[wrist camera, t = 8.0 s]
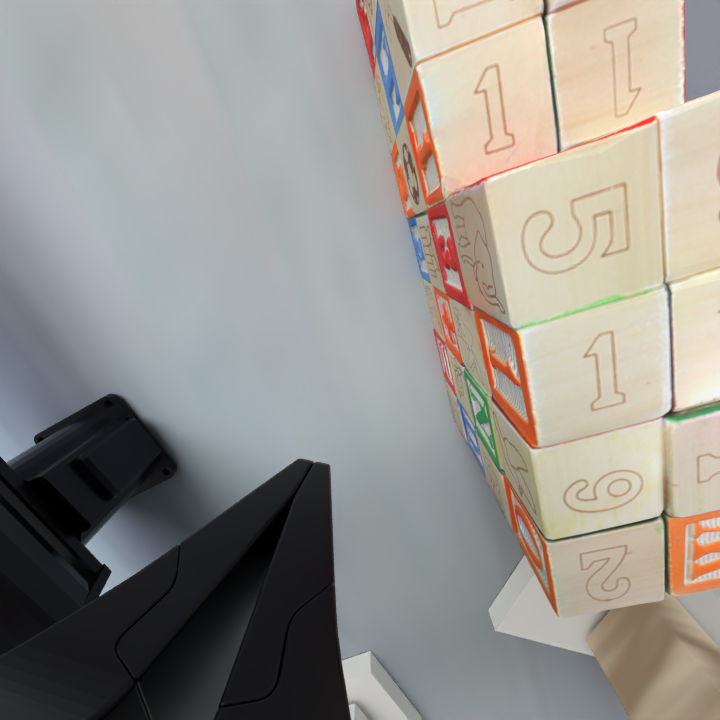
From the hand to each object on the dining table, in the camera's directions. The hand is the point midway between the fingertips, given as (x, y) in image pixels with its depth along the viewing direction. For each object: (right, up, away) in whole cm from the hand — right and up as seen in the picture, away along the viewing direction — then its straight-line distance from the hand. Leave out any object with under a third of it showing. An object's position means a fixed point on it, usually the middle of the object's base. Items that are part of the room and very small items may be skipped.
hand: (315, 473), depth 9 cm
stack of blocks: (+7, +10, +9) cm, 15 cm away
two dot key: (+20, -15, +15) cm, 29 cm away
